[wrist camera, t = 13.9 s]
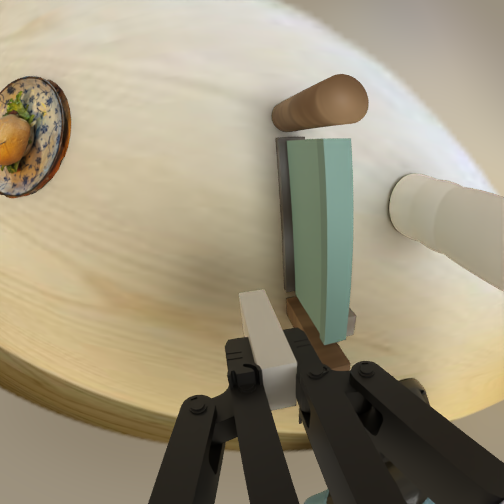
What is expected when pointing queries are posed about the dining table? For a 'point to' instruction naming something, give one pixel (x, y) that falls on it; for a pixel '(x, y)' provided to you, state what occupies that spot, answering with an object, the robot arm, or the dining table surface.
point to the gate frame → (290, 119)
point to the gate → (323, 231)
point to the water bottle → (453, 223)
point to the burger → (31, 134)
